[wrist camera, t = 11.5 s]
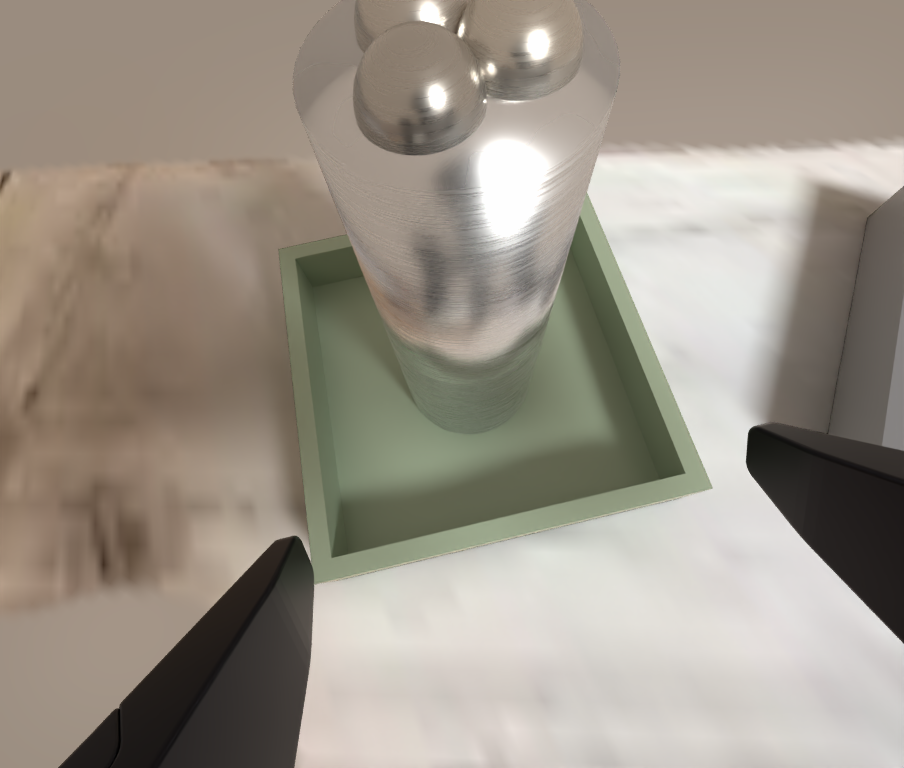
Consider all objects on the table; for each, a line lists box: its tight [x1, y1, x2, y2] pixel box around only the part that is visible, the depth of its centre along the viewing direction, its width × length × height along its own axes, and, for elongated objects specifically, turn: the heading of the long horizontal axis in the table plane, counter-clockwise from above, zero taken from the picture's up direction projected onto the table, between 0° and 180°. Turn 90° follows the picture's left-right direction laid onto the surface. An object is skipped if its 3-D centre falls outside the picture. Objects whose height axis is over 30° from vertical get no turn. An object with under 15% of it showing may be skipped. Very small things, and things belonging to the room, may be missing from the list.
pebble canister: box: [293, 0, 620, 434], centre depth 12 cm, size 5×5×13 cm
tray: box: [278, 193, 712, 584], centre depth 17 cm, size 12×12×3 cm
